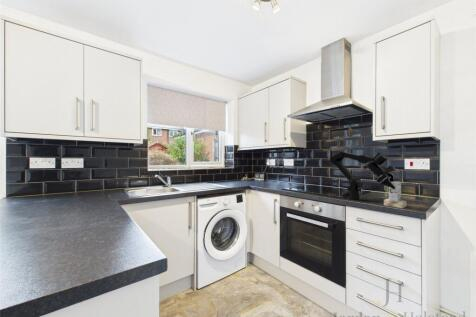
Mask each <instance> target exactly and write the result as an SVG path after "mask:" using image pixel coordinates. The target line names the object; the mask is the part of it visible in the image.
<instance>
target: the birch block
mask: <svg viewBox="0 0 476 317" xmlns="http://www.w3.org/2000/svg"><path fill="white" fill-rule="evenodd" d="M383 206H387V207H393V208H400V209H404V208H407V200H402V199H401V200H400V201H398V202H397V201H389V198H385V199H383Z"/></svg>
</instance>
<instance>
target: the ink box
mask: <svg viewBox="0 0 476 317" xmlns="http://www.w3.org/2000/svg"><path fill="white" fill-rule="evenodd" d="M391 183H392V184H393V185H394V187H395V189H393V188H391V187H388V199H389V201H397V202H398V201H400V200H402V182H401V181H395V182H391Z"/></svg>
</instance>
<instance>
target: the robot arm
mask: <svg viewBox="0 0 476 317" xmlns="http://www.w3.org/2000/svg"><path fill="white" fill-rule="evenodd" d="M345 158H346V159H351V160H355V161H357V162H358V163H361V164H367V165H364V170H368V169H369V171H370V172H372V174H373V175H374V176H376V177H377V178H376V182H378V183H379V184H381V185H383V186H386V187H387V188H389V187H391V188H393V189H395V187H394V185H393V184H392V183H391V182H396V180H395V174H394V173H392V172H395V171H397V170H396V167H395V166H394V165H388V166H387V167H385V168H384V167H381V166H383V165H384V164H385V163H386V162H387V161H389V157H388V156H387V155H385V154H384V153H382V152H377V154H376V155H375V156H374V157H372V155H364V154H363V155H361V154H355V153H351V152H347V151H340V152H339V153H336V154H334V155H332V156H331V157H330V158H329V162H330V163H331V164H332V165H333V166H335V167H336V168H338V169H339V170H338V171H340V172H341V173H342V174H343V177H345V178H346V179H347V181H348V184H349V186H348V187H347V188H346V189H347V192H349V194H348V200H353V201H359V200H361V198H362V196H361V194H362V193H361V192H362V189H364V182H363V180H361V178H360V177H355V176H354V174H352V172H351V171H350V170H349V168H347V167H346V166H345V165H344V163H343V160H344V159H345Z"/></svg>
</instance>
